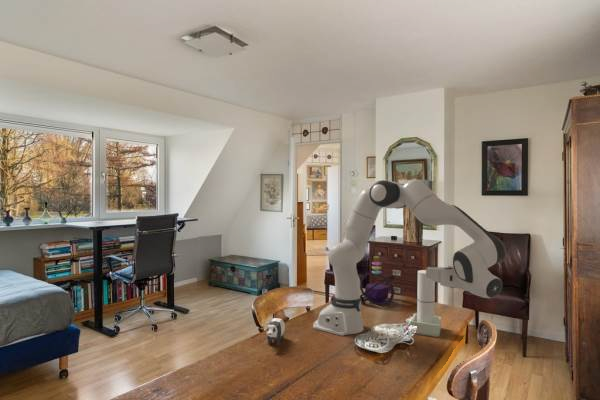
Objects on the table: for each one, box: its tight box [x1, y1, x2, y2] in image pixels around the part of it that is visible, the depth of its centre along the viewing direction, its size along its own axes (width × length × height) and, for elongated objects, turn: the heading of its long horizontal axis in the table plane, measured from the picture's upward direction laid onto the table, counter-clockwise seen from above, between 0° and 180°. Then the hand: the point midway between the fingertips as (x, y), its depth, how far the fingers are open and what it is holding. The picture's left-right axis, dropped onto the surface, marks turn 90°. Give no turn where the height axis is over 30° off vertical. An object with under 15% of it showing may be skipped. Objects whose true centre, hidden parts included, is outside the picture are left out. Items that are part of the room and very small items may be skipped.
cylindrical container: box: [416, 269, 436, 324], centre depth 161 cm, size 7×7×25 cm
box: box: [409, 312, 442, 338], centre depth 162 cm, size 12×12×5 cm
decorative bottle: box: [360, 255, 396, 306], centre depth 203 cm, size 22×21×25 cm
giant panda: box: [266, 317, 286, 347], centre depth 148 cm, size 15×6×10 cm, turn 169°
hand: (439, 268), depth 151 cm, fingers open, 8 cm apart
